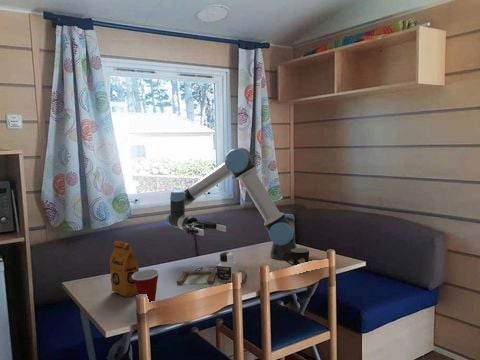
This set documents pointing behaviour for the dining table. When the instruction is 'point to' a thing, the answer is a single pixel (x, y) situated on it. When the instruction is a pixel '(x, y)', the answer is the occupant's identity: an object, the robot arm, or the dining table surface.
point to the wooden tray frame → (201, 277)
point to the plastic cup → (146, 282)
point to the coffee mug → (298, 255)
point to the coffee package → (123, 269)
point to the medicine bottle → (226, 267)
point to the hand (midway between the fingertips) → (214, 231)
